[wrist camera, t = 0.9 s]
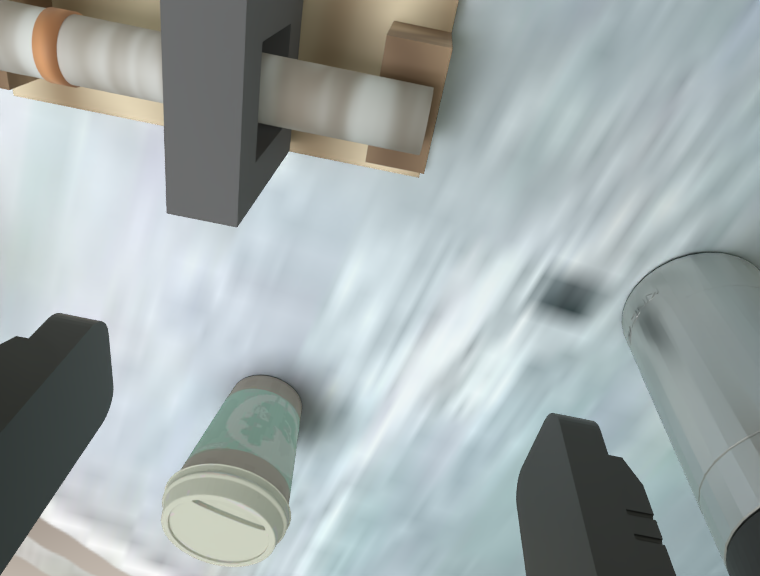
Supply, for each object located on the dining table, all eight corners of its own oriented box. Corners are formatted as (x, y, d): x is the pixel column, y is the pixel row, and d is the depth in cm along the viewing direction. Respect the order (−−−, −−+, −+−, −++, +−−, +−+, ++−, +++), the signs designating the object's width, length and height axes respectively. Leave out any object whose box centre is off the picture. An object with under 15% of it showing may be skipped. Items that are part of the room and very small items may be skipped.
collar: (306, -29, 28) (247, -9, 19) (289, 150, 32) (237, 227, 24) (244, -42, 27) (158, -27, 19) (237, 139, 32) (166, 213, 24)
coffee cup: (338, 421, 47) (309, 556, 37) (255, 449, 50) (207, 582, 40) (280, 346, 44) (230, 474, 33) (194, 381, 46) (124, 509, 36)
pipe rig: (460, -14, 30) (466, 8, 22) (419, 168, 35) (413, 236, 27) (-2, -110, 29) (-160, -122, 22) (29, 89, 35) (-89, 136, 27)
